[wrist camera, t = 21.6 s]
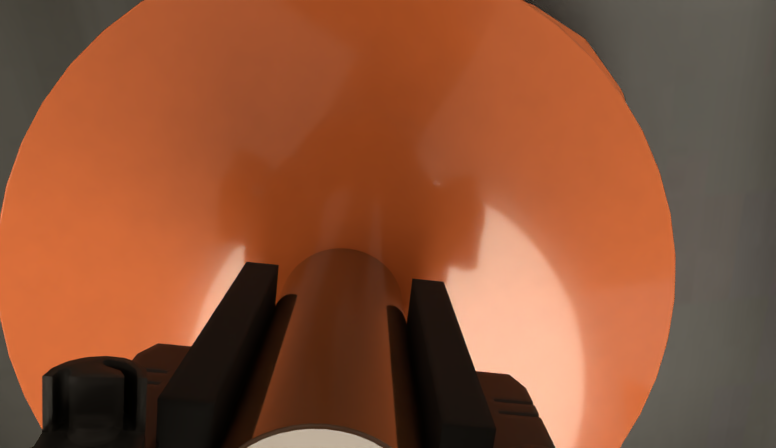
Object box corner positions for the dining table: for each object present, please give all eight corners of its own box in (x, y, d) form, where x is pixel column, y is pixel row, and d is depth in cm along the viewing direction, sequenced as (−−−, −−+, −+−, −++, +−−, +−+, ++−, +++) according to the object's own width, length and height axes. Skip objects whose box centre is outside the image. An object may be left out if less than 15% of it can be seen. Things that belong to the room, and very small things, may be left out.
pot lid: (396, -208, 15) (442, -676, 6) (772, 334, 19) (1190, 603, 9) (-120, 245, 17) (-715, 454, 8) (304, 657, 21) (251, 1147, 11)
